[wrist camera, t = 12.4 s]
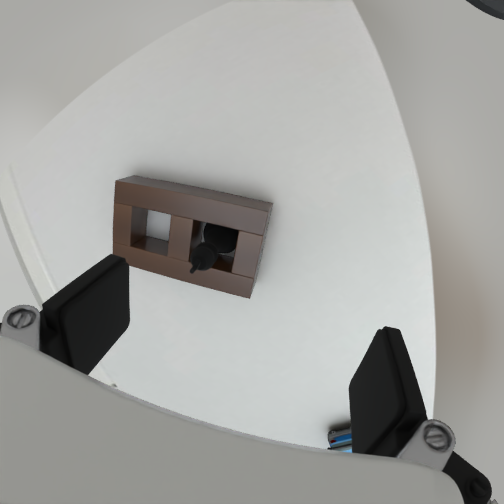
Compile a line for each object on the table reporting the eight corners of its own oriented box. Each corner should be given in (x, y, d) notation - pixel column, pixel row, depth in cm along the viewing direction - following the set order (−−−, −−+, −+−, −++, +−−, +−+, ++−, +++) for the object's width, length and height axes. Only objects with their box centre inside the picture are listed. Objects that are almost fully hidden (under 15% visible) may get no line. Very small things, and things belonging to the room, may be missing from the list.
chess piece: (197, 238, 36) (161, 273, 27) (216, 208, 35) (183, 235, 25) (228, 259, 37) (202, 301, 27) (249, 230, 35) (227, 265, 26)
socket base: (133, 175, 35) (115, 180, 31) (273, 203, 33) (268, 211, 30) (128, 249, 38) (112, 260, 35) (255, 282, 37) (249, 299, 33)
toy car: (342, 456, 47) (342, 480, 42) (325, 424, 44) (324, 451, 39) (372, 449, 46) (374, 473, 40) (359, 416, 43) (361, 443, 37)
